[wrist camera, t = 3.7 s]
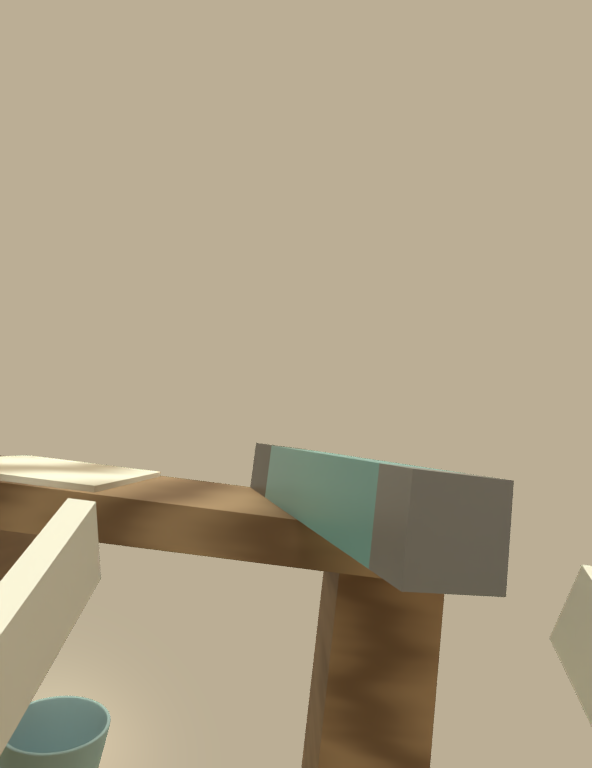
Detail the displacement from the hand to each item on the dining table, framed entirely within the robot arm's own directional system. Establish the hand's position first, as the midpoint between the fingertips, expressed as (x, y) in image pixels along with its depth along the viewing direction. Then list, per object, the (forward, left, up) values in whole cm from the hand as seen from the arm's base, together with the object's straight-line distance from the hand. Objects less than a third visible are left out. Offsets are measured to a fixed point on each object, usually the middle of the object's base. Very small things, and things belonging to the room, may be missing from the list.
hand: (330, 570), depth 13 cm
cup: (-17, +26, -30) cm, 43 cm away
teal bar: (0, +10, 0) cm, 10 cm away
